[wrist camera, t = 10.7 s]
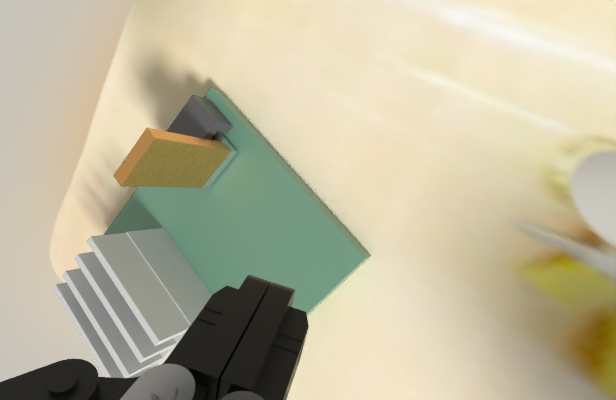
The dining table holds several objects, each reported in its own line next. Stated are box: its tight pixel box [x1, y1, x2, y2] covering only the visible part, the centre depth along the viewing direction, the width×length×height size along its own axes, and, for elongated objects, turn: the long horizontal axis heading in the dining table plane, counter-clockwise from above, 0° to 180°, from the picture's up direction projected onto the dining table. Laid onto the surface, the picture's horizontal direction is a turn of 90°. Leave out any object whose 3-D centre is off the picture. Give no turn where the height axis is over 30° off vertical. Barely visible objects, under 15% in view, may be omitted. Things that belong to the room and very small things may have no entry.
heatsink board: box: [53, 88, 371, 378], centre depth 39 cm, size 24×24×11 cm
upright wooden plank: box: [114, 128, 237, 188], centre depth 37 cm, size 6×5×11 cm
